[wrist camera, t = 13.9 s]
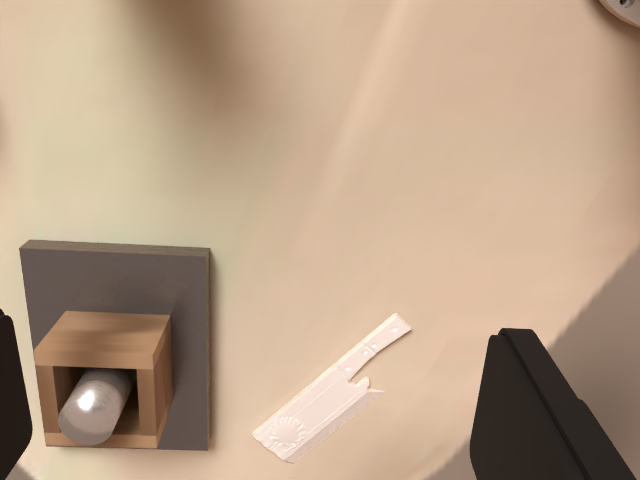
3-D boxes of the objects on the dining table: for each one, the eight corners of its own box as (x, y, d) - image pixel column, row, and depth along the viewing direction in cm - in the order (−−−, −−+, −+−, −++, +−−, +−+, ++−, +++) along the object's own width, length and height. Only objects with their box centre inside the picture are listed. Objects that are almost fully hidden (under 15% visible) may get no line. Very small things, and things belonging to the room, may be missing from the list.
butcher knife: (438, 352, 43) (442, 360, 41) (296, 462, 46) (296, 472, 45) (395, 309, 41) (397, 317, 40) (252, 427, 45) (250, 437, 44)
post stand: (209, 248, 38) (186, 306, 31) (210, 437, 44) (191, 527, 36) (29, 239, 38) (-43, 297, 30) (54, 432, 43) (-1, 523, 36)
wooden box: (170, 315, 39) (152, 355, 34) (173, 400, 41) (156, 448, 36) (65, 310, 38) (33, 350, 33) (74, 396, 41) (45, 445, 36)
